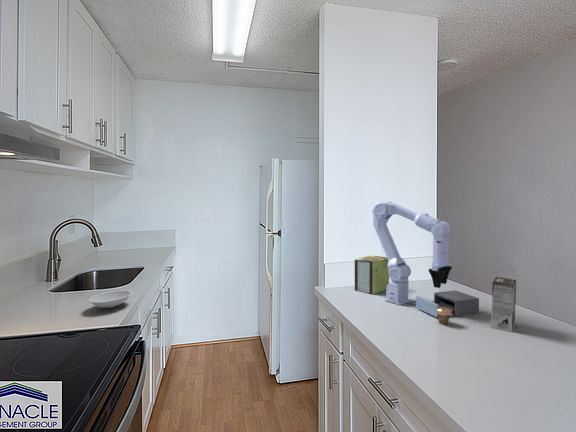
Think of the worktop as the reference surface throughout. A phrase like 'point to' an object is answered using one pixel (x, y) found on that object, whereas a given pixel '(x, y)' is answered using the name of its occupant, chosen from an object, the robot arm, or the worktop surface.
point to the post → (444, 320)
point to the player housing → (459, 302)
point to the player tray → (431, 306)
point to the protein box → (371, 274)
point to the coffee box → (503, 304)
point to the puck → (443, 311)
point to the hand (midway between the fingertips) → (440, 285)
